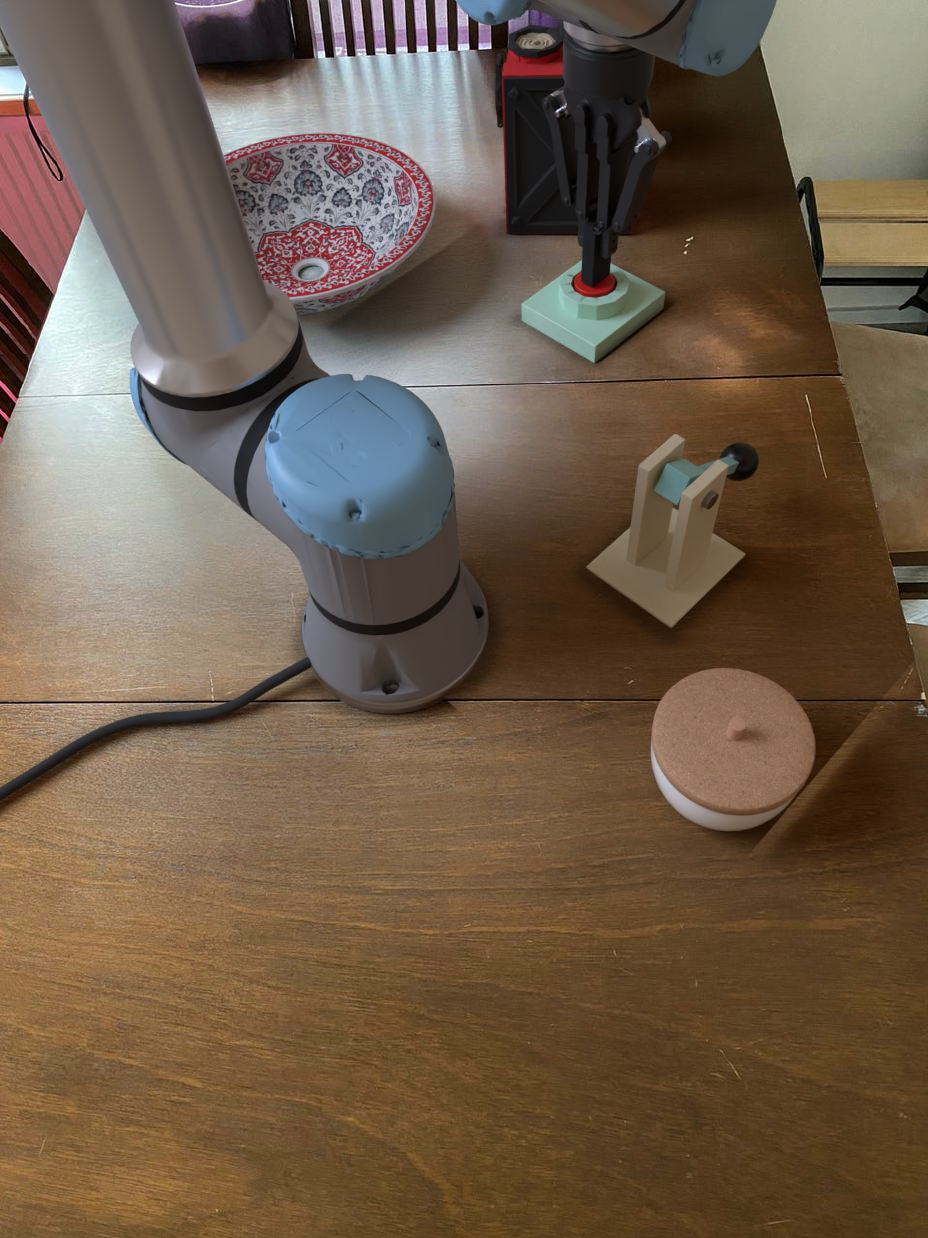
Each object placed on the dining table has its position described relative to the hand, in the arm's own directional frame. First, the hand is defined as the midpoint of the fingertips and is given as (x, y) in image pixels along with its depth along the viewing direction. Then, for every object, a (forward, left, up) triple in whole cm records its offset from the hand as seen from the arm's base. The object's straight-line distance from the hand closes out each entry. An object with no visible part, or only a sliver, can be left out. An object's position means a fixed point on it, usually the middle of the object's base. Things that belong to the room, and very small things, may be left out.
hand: (595, 277), depth 97 cm
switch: (-17, -26, +3) cm, 31 cm away
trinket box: (-34, -41, -5) cm, 54 cm away
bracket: (-21, -26, -5) cm, 34 cm away
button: (0, 0, -2) cm, 2 cm away
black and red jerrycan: (+12, +14, -5) cm, 19 cm away
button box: (0, 0, -5) cm, 5 cm away
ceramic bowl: (-15, +28, -5) cm, 32 cm away
